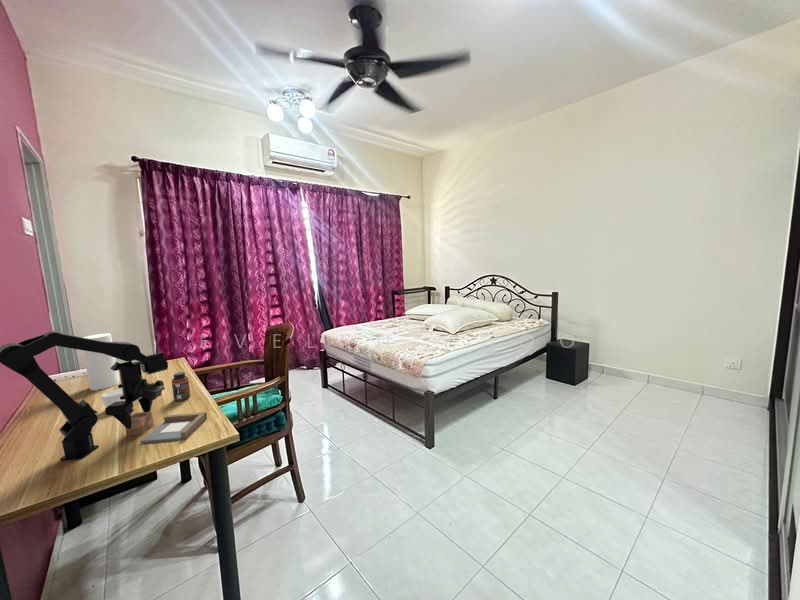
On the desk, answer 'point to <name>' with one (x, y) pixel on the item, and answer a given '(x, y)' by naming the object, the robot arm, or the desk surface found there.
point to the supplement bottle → (180, 387)
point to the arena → (176, 427)
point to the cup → (112, 397)
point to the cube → (140, 423)
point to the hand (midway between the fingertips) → (138, 421)
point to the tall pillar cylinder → (100, 366)
